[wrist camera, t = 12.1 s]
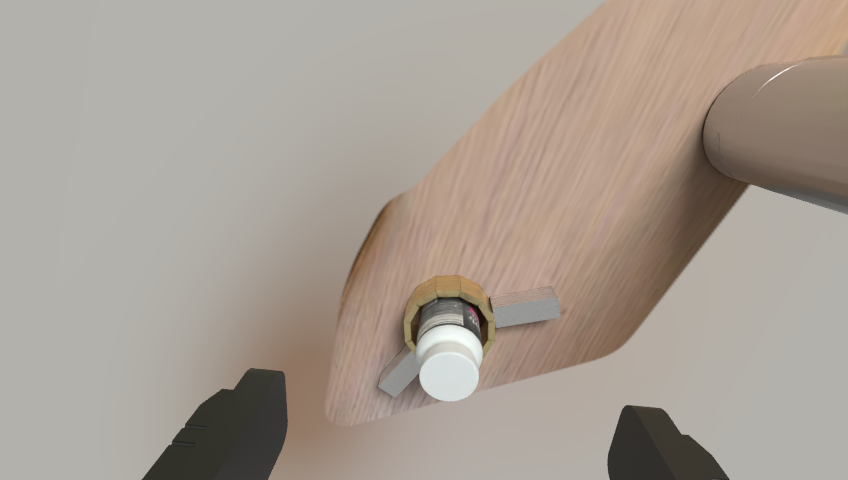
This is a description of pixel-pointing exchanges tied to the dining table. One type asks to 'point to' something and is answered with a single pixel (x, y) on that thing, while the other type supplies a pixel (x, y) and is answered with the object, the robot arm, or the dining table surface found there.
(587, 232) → the dining table surface
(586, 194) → the dining table surface
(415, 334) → the stand
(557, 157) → the dining table surface
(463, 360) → the pill bottle
